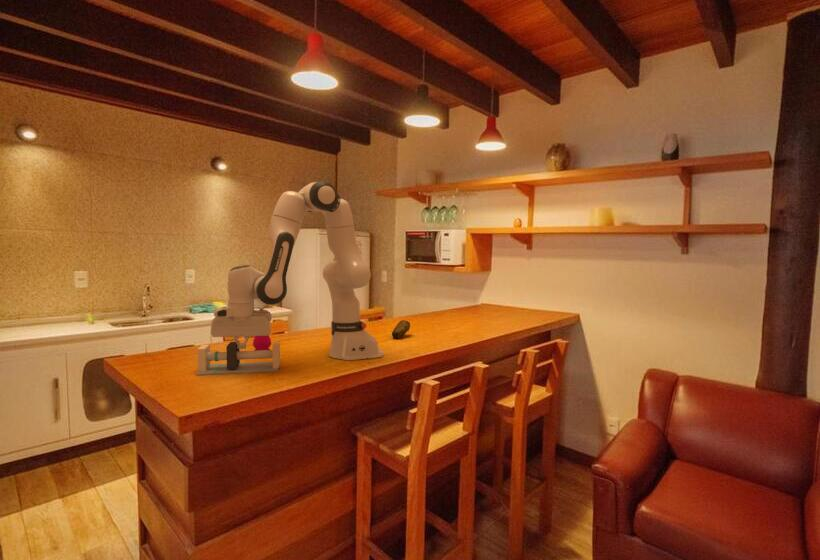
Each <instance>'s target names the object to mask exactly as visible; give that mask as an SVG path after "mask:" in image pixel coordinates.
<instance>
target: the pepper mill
mask: <svg viewBox="0 0 820 560" xmlns="http://www.w3.org/2000/svg"><path fill="white" fill-rule="evenodd" d="M258 310H265V307H264V305H261V306H259V308H258ZM267 313H268V312H267ZM271 345H272V340H271V337H270V334H269V335H268V336H253V341H252V346H253V348H254V350H253V351H258V350H271V349H270V348H271Z"/></svg>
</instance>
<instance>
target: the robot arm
mask: <svg viewBox="0 0 820 560" xmlns="http://www.w3.org/2000/svg"><path fill="white" fill-rule="evenodd" d="M314 212H315V213H317V212H320V213H321V214H322V215H323V217H324V220H325V227H326V228H325V229H326V236H327V244H328V248H329V250H330V251H331V253H332V254H333V255H334V258H335V260H333V261H329V262H328V263H327V264H325V265H324V267H323V269H322V277H323V280H324V281H325V282H326V284H327V286H328V290H329V295H330V298H331V305H332V306H331V307H332V309H331V310H332V312H331V313H332V320H331V324H330V333H331V334H330V335H331V341H330V342H331V343H330V347H329V348H330V349H329V352H328V356H329V357H331V358H333V359H338V360H339V359H340V360H344V361H356V360H366V359H367V358H368V359H376V358H382V357H384V350H382V349H381V348H379V345H378V341H377V339H376V338H375V336H373V335H372V334H370V333H369V332H368V331H367V330H366V328H367V324H366V323H365V322H363V321H362V320H360V318H361V317H360V316H361V315H360V308H361V307H360V300H359V299H358V297H357V295H356V294H355V291H354V289H360V288H364V287H366V286H367V285H368V284H369V282H370V280H371V276H372V274H371V270H370V268H369V266H368V265H367V264H366V262H364V260H363V257H362V256H361V253H360V251H359V249H358V245H357V240H356V239H357V238H356V233H355V232H356V231H355V224H354V223H355V222H354V218H353V213H352V210H351V207H350V204H349V202H348V201H347V200H345V199H343V198H341V196H340V195H339V193H338V191H337V189H336V188H335V186H334V185H333V184H332V183H331V182H328V181H326V180H325V181H323V180H320V181H314V182H313V181H312V182H310V183H308V184H306V185H303V186H302V187H300V188H299V189H298V190H297V191H293V190H288V191H284V192H283V193H282V194H281V195H280V197H279V198H278V201H277V203H276V204H275V206H274V209H273V212H272V214H271V217H270V221H269V222H270V223H269V228H268V235H269V237H270V239H271V242H272V255H271V257H270V262H269V265H268V268H267V272H262V271H261V270H258V269H256V268H255V267H253V266H252V265H250V264H246V265H238V266H234V267H232V268H231V269H230V270H229V271H228V275H227V293H228V299H227V306H223V307H220V308H218V309H216V310H215V311H214V312H213V316H214V318H213V319H211V320H212V321H211V326H210V335H211V337H213V338H231V337H233V342H236V344H237V349H240V350H241V349H246V348H247V343H248V341H249V340H250V337H255V336H268V335H269V336H270V334H271V332H272V326H271V321H272V313H271V312H270V311H268V310H267V309H263V310H260V309H255V300H256V299H257V300H260V302H262V303H264V304H265V305H269V306H271V305H272V306H273V305H277V304H280V303H281V302H282V301H284V299H285V298H286V296H287V293H288V287H287V281H286V280H287V274H288V269H289V265H290V263H291V257H292V253H293V249H294V246H295V244H296V240H297V239H298V237H299V233H300V231H301V227H302V224H303V221H304V217H305V216H306V214H307V213H314ZM267 312H268V313H267ZM240 337H243V338H244V342H240V341H239V338H240Z"/></svg>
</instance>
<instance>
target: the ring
mask: <svg viewBox="0 0 820 560" xmlns="http://www.w3.org/2000/svg"><path fill="white" fill-rule="evenodd" d="M237 351H241V349H237V344H236V342H235V341H230V342H229V343H228V344H227V345H226V352H227V360H226V364H227V369H236V368H237V367H238V365H239V364H240V363H241V360H237Z"/></svg>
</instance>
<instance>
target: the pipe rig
mask: <svg viewBox="0 0 820 560" xmlns="http://www.w3.org/2000/svg"><path fill="white" fill-rule="evenodd" d="M280 347H281V342H280V341H275V342H273V344H272V349H270V350H258V351H254V350H240V351H237V360H240V361H241V360H262V359H272V361H259V362H257V361H255V362H240V364H239V365H238V367H237V368H236V369H227V363H212V364H211V362H212V361H215V362H219V361H227V351H217V350H216V351H212V352H211V344H202V345H200V346H199V347H198V348H197V372H196V374H195V375H197V376H211V375H212V376H215V375H234V374H236V373H239V374H255V373H256V374H257V373H258V372H260V373H277V372H279V369H280V366H281V350H280V349H281V348H280ZM258 374H259V373H258Z"/></svg>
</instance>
